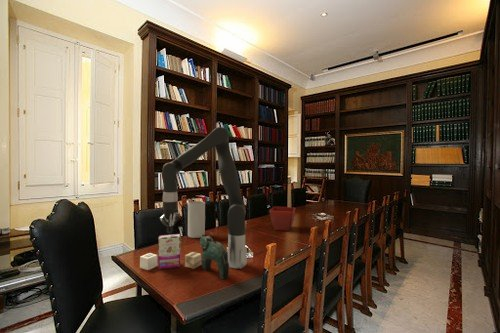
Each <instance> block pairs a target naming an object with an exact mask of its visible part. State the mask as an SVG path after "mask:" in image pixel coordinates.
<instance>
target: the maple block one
mask: <svg viewBox="0 0 500 333" xmlns="http://www.w3.org/2000/svg"><path fill="white" fill-rule="evenodd" d="M200 266H202V253H199V252H195V251H191V252H189V253H187V254H184V268H185V267H186V268H190V269H196V268H198V267H200Z"/></svg>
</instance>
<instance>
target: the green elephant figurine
mask: <svg viewBox="0 0 500 333" xmlns="http://www.w3.org/2000/svg"><path fill="white" fill-rule="evenodd" d="M211 234H212V236H213V237H214V236H215V235H214V233H213V232H210V233H209V235H203V234H202V237H200V238H199V247H200V248H201V250H202V253H201V269H202V270H204V271H207V270H210V269H211V268H212V261H214V262H216V265H217V266H218V271H219V279H221V280H226V279H228V278H229V273H230V272H229V269H230V267H229V263H228V251H227V250H226V248H225V246H224V245H223V244H222V243H221V242H220V241H214V239H213V238H212V236H211Z"/></svg>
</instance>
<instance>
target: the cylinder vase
mask: <svg viewBox="0 0 500 333" xmlns="http://www.w3.org/2000/svg"><path fill="white" fill-rule="evenodd" d="M205 225H206V202H205V201H201V200H200V201H199V200H197V201H196V200H195V201H188V202H187V236H188V237H189V238H190V239H191V238H192V239H200V238H201V237H202V234H203V235H204V236H206V234H205V233H206V231H205V228H206V226H205Z"/></svg>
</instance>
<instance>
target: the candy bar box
mask: <svg viewBox="0 0 500 333" xmlns="http://www.w3.org/2000/svg"><path fill="white" fill-rule="evenodd" d="M157 242H158V243H157V244H158V246H157V247H158V252H157V253H158V254H157V267H158V270H164V269H173V268H181V265H182V264H181V262H182V260H181V259H182V258H181V257H182V256H181V255H182V254H181V253H182V251H181V233H175V234H164V235H163V234H162V235H159V236H158V241H157Z"/></svg>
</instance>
